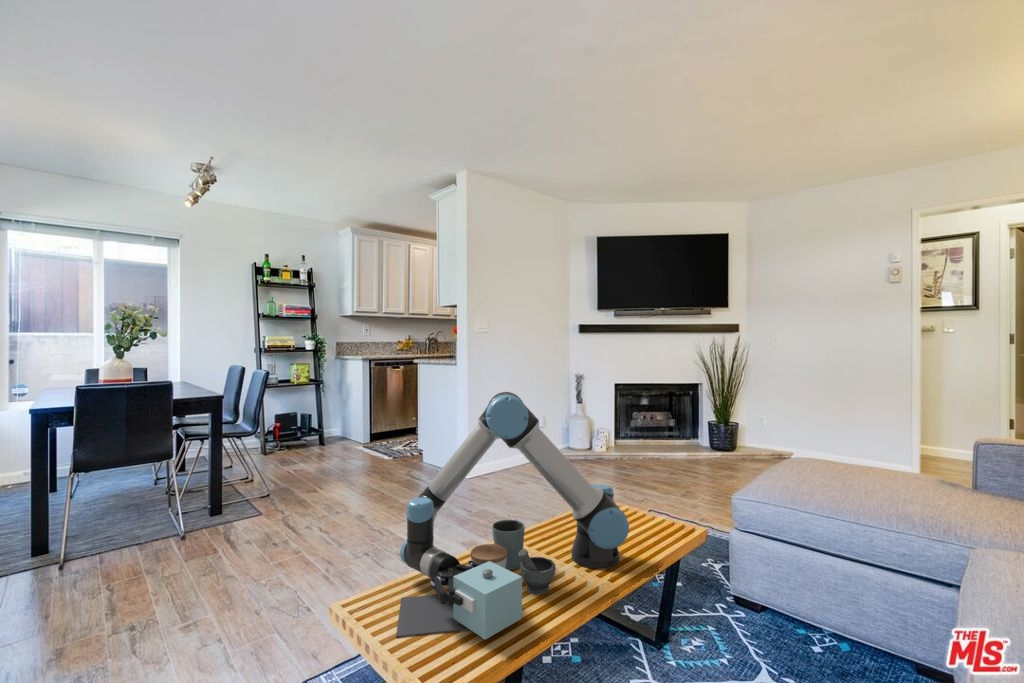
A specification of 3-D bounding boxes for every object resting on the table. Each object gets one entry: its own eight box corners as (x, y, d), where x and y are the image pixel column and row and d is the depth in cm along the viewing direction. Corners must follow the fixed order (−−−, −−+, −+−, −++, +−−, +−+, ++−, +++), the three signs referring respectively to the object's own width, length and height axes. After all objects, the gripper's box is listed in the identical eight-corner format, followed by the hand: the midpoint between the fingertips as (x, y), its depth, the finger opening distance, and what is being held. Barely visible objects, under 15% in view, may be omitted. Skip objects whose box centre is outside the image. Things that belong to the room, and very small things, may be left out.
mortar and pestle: (541, 577, 135) (541, 536, 136) (562, 591, 128) (562, 547, 128) (509, 588, 129) (509, 545, 129) (529, 603, 121) (529, 557, 122)
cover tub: (489, 599, 120) (489, 556, 121) (522, 618, 112) (521, 571, 112) (453, 618, 112) (453, 571, 112) (485, 639, 104) (485, 589, 104)
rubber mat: (464, 593, 127) (464, 591, 127) (469, 630, 110) (469, 628, 110) (401, 599, 124) (401, 597, 124) (396, 637, 107) (396, 635, 107)
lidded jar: (474, 589, 129) (474, 555, 129) (467, 572, 139) (467, 540, 139) (511, 584, 132) (511, 551, 132) (502, 567, 142) (502, 536, 142)
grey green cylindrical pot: (530, 561, 146) (530, 523, 146) (513, 574, 137) (513, 533, 138) (503, 554, 151) (504, 517, 152) (485, 566, 143) (485, 526, 143)
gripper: (474, 566, 134) (528, 593, 119) (401, 596, 118) (453, 633, 102) (474, 540, 135) (528, 564, 119) (401, 566, 118) (453, 599, 102)
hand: (493, 596), depth 111 cm, fingers closed on cover tub, 12 cm apart
